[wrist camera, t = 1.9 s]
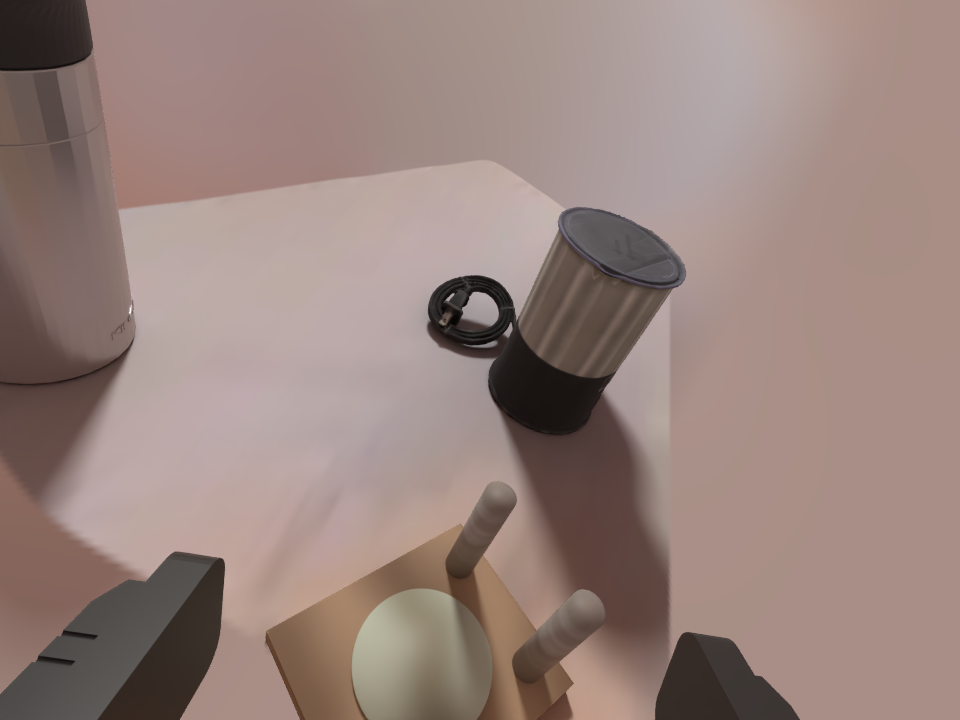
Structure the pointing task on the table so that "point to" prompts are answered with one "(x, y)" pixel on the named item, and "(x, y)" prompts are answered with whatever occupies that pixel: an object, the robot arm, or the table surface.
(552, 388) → the milk frother
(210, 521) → the table surface
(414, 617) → the pin tray
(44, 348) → the robot arm
